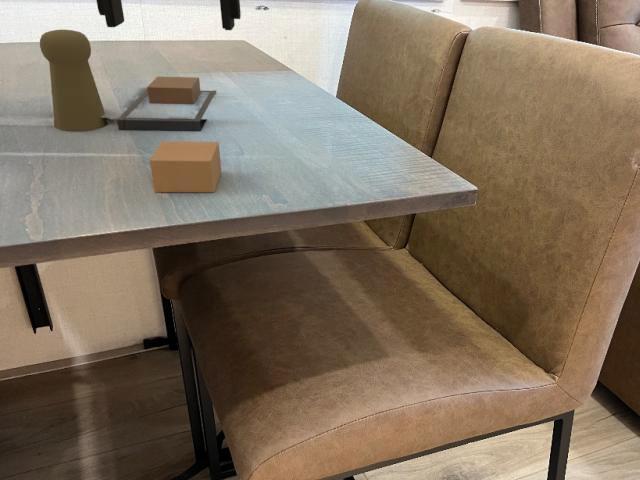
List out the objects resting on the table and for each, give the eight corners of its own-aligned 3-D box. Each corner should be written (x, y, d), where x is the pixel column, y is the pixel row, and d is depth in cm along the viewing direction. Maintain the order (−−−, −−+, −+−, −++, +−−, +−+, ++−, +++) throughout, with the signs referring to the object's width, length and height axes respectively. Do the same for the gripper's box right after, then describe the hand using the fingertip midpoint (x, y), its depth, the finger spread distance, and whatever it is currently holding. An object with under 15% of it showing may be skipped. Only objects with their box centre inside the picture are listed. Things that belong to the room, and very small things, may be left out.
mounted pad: (150, 112, 83) (146, 87, 82) (160, 100, 89) (157, 76, 87) (194, 112, 84) (191, 88, 82) (201, 100, 89) (199, 77, 88)
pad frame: (118, 133, 76) (116, 119, 76) (147, 100, 90) (145, 89, 89) (201, 134, 78) (199, 121, 77) (217, 102, 91) (216, 90, 90)
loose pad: (154, 192, 61) (149, 160, 59) (166, 171, 66) (162, 140, 64) (214, 192, 62) (210, 160, 60) (221, 171, 67) (218, 141, 65)
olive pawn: (97, 118, 81) (79, 25, 76) (117, 129, 78) (100, 32, 72) (47, 125, 77) (24, 28, 72) (66, 137, 74) (43, 36, 68)
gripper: (-6, -241, 43) (54, 30, 52) (254, -223, 45) (270, 36, 54) (36, -221, 49) (83, 18, 58) (262, -205, 51) (275, 23, 60)
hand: (173, 26), depth 56 cm, fingers open, 9 cm apart
